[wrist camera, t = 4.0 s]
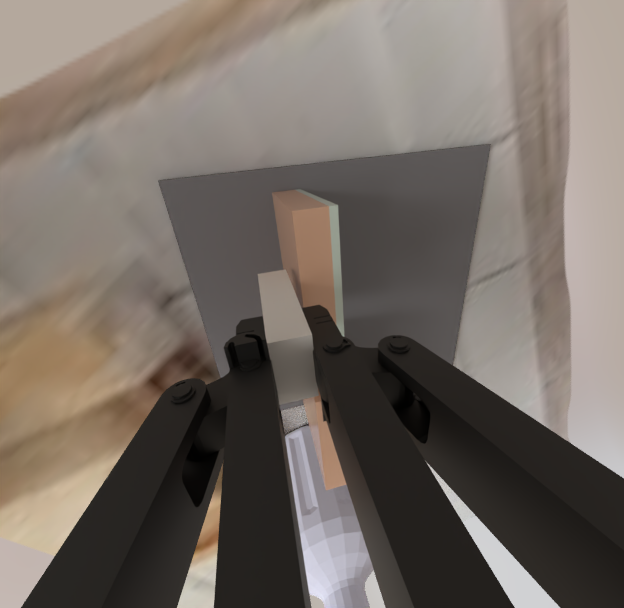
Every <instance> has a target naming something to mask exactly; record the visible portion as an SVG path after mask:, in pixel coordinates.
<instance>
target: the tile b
mask: <svg viewBox="0 0 624 608" xmlns="http://www.w3.org/2000/svg"><path fill="white" fill-rule="evenodd" d="M318 393H319V396H315V397H311V398H307V399H303V403H304V407H305V411H306V415H307V419H308V423H309V427H310V430H311V434H312V438H313V442H314V446H315V450H316V454H317V458H318V461H319V465H320V469H321V473H322V477H323V481H324V485H325V489H326V490H330V489H333V488H336V487H340V486H343V485H347V484H346V481H345V478H344V475H343V472H342V469H341V465H340V462H339V459H338V456H337V453H336V450H335V447H334V443H333V440H332V437H331V434H330V431H329V428H328V425H327V421H324V422H323V413H322V404H321V395H320V392H319V389H318Z"/></svg>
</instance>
